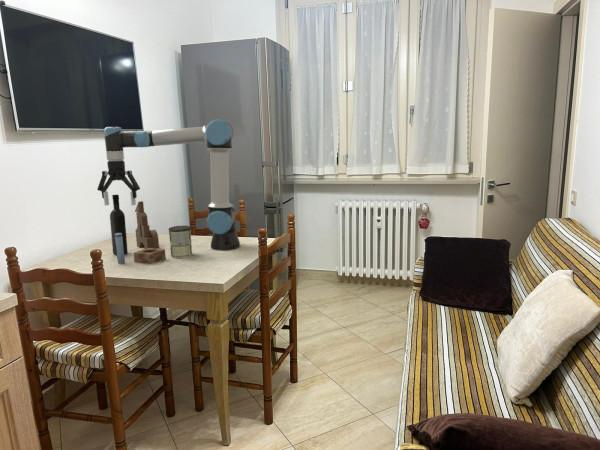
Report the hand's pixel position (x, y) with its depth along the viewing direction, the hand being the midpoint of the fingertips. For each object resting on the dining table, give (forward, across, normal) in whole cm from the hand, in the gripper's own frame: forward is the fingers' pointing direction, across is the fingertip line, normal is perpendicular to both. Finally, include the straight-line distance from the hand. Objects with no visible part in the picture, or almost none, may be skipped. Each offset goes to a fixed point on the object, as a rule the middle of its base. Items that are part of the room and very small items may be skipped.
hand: (120, 205), depth 207 cm
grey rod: (+26, -4, +10) cm, 28 cm away
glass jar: (+26, -28, -3) cm, 38 cm away
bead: (+26, -15, +6) cm, 30 cm away
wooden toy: (+26, -1, -21) cm, 33 cm away
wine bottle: (+26, +6, -6) cm, 27 cm away
